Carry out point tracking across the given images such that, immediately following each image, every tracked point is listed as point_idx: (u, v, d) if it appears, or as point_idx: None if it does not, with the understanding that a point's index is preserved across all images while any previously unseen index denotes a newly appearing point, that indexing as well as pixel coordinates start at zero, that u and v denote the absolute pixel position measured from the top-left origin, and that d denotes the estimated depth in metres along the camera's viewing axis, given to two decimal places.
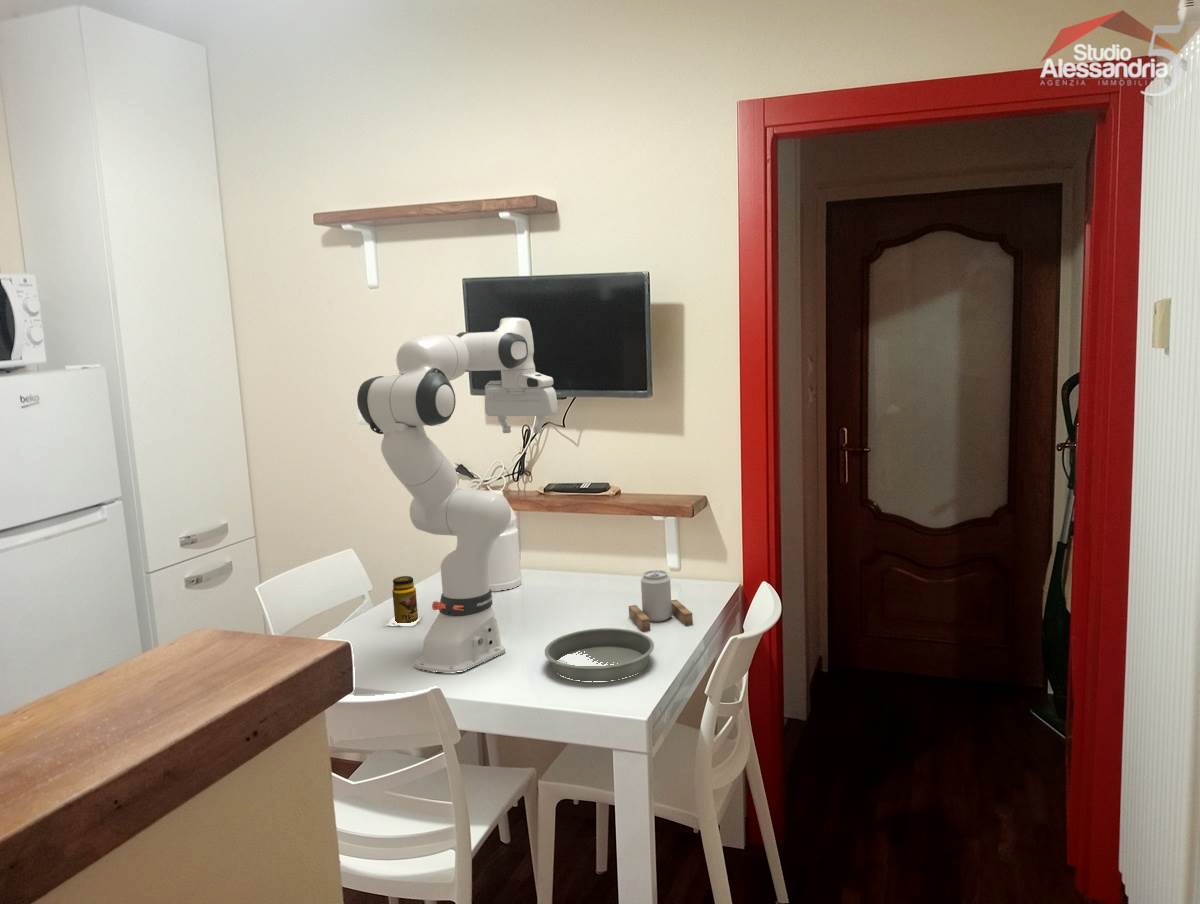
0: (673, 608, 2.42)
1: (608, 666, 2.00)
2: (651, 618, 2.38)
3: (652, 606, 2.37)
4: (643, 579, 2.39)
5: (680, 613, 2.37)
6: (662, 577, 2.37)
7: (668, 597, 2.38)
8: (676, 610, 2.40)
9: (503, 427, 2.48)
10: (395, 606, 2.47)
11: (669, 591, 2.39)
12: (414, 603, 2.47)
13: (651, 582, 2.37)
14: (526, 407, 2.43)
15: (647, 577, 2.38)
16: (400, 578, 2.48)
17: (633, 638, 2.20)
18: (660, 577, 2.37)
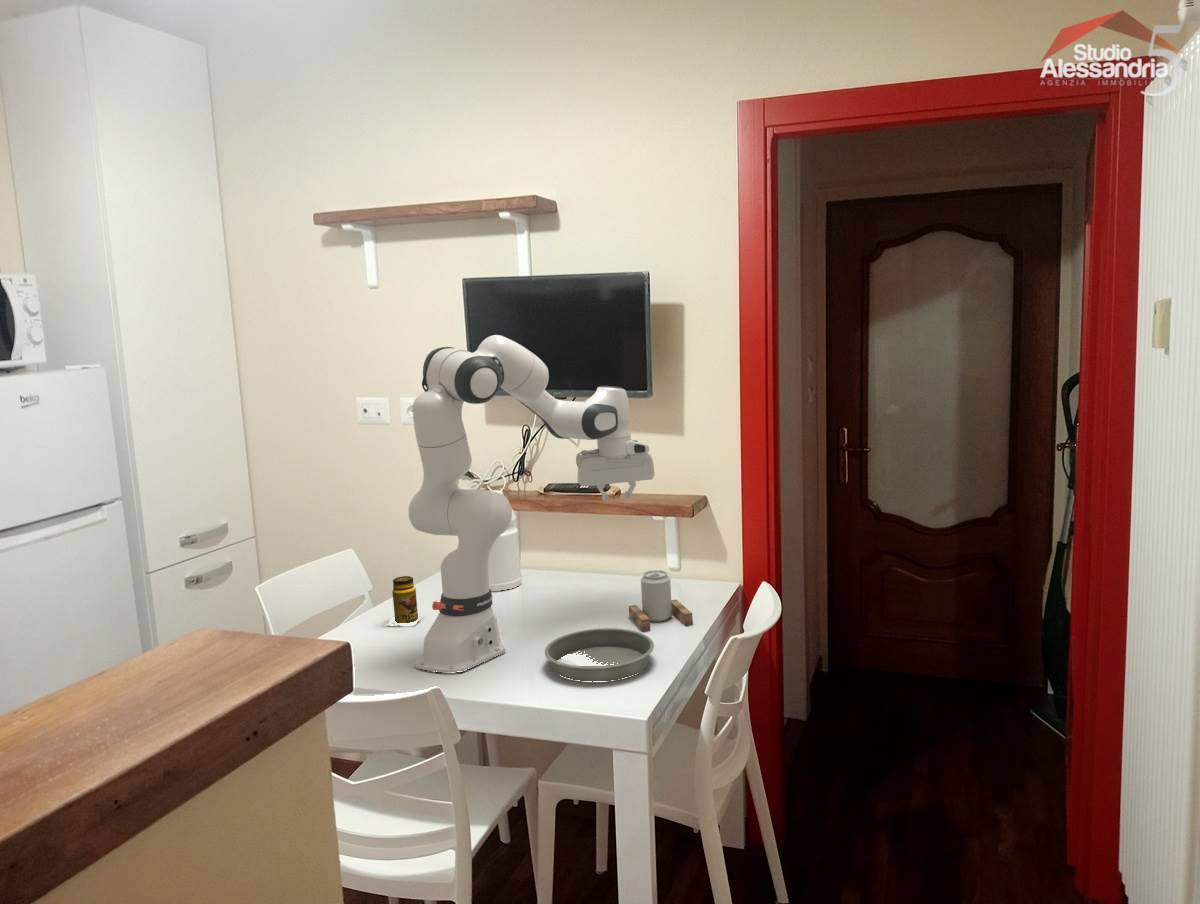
0: (673, 608, 2.42)
1: (608, 666, 2.00)
2: (651, 618, 2.38)
3: (652, 606, 2.37)
4: (643, 579, 2.39)
5: (680, 613, 2.37)
6: (662, 577, 2.37)
7: (668, 597, 2.38)
8: (676, 610, 2.40)
9: (604, 495, 2.46)
10: (395, 606, 2.47)
11: (669, 591, 2.39)
12: (414, 603, 2.47)
13: (651, 582, 2.37)
14: (627, 473, 2.46)
15: (647, 577, 2.38)
16: (400, 578, 2.48)
17: (633, 638, 2.20)
18: (660, 577, 2.37)
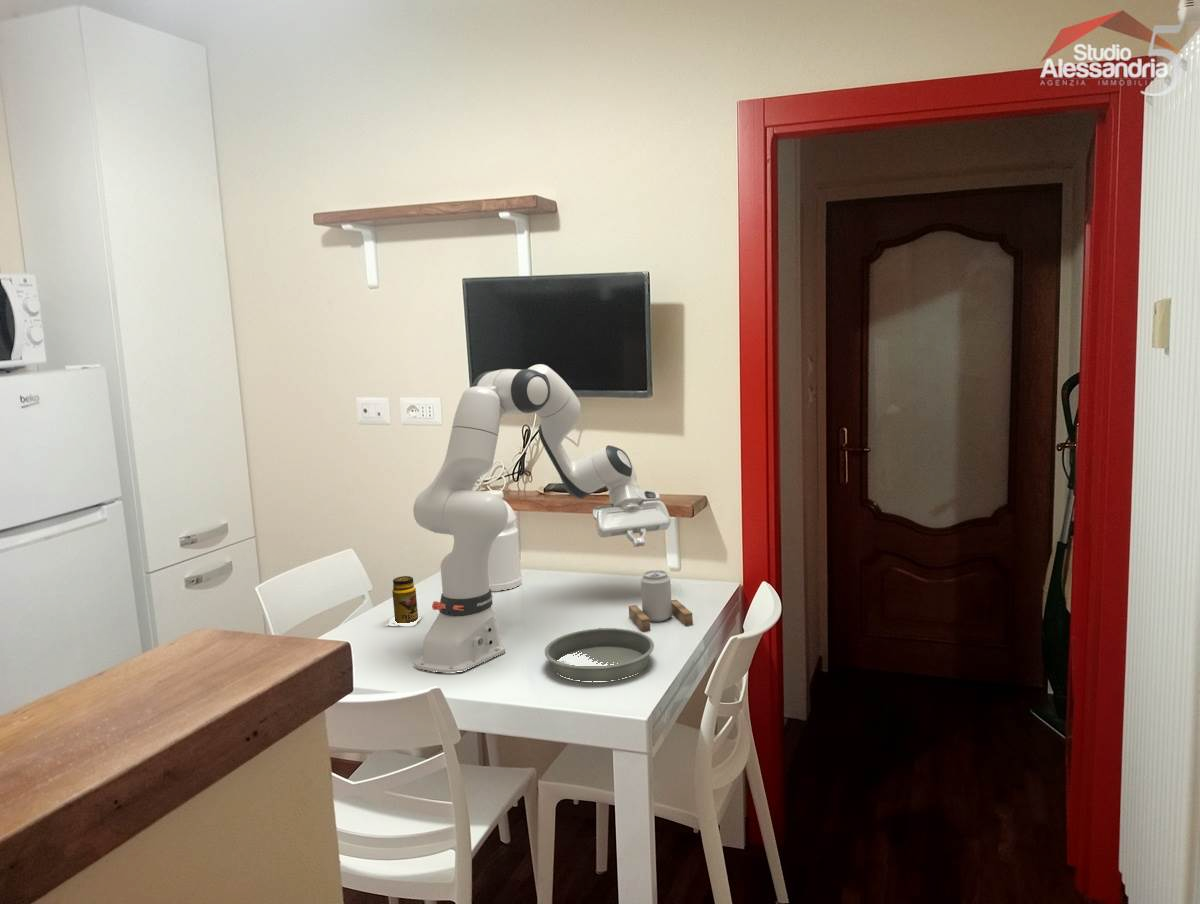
0: (673, 608, 2.42)
1: (608, 666, 2.00)
2: (651, 618, 2.38)
3: (652, 606, 2.37)
4: (643, 579, 2.39)
5: (680, 613, 2.37)
6: (662, 577, 2.37)
7: (668, 597, 2.38)
8: (676, 610, 2.40)
9: (634, 539, 2.52)
10: (395, 606, 2.47)
11: (669, 591, 2.39)
12: (414, 603, 2.47)
13: (651, 582, 2.37)
14: (644, 518, 2.55)
15: (647, 577, 2.38)
16: (400, 578, 2.48)
17: (633, 638, 2.20)
18: (660, 577, 2.37)
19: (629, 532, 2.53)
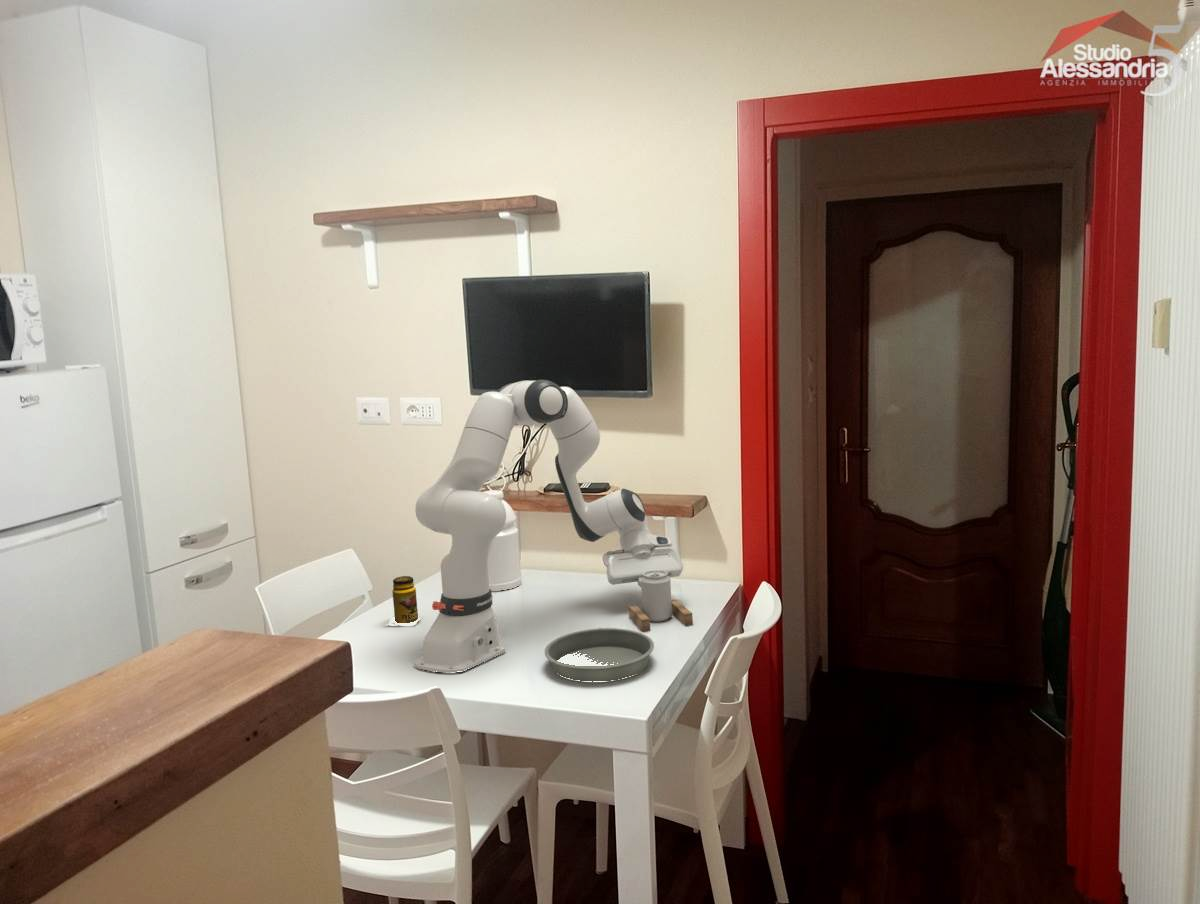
0: (673, 608, 2.42)
1: (608, 666, 2.00)
2: (651, 618, 2.38)
3: (652, 606, 2.37)
4: (643, 579, 2.39)
5: (680, 613, 2.37)
6: (662, 577, 2.37)
7: (668, 597, 2.38)
8: (676, 610, 2.40)
9: None
10: (395, 606, 2.47)
11: (669, 591, 2.39)
12: (414, 603, 2.47)
13: (651, 582, 2.37)
14: (656, 565, 2.48)
15: (647, 577, 2.38)
16: (400, 578, 2.48)
17: (633, 638, 2.20)
18: (660, 577, 2.37)
19: (640, 579, 2.46)
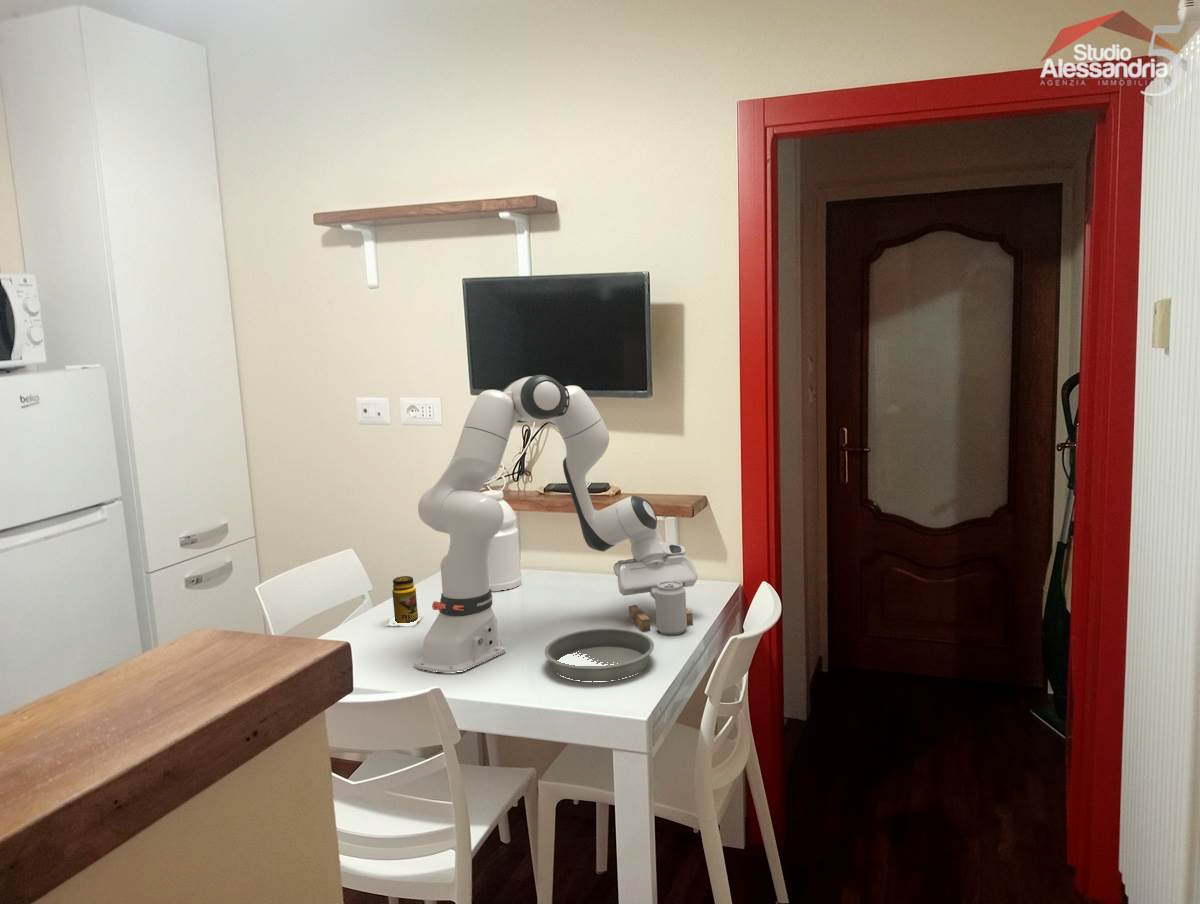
0: None
1: (608, 666, 2.00)
2: (666, 631, 2.28)
3: (667, 618, 2.27)
4: (657, 590, 2.29)
5: None
6: (677, 588, 2.27)
7: (683, 609, 2.28)
8: None
9: None
10: (395, 606, 2.47)
11: (684, 603, 2.29)
12: (414, 603, 2.47)
13: (666, 593, 2.27)
14: (669, 574, 2.38)
15: (661, 589, 2.28)
16: (400, 578, 2.48)
17: (633, 638, 2.20)
18: (675, 588, 2.27)
19: (653, 590, 2.36)
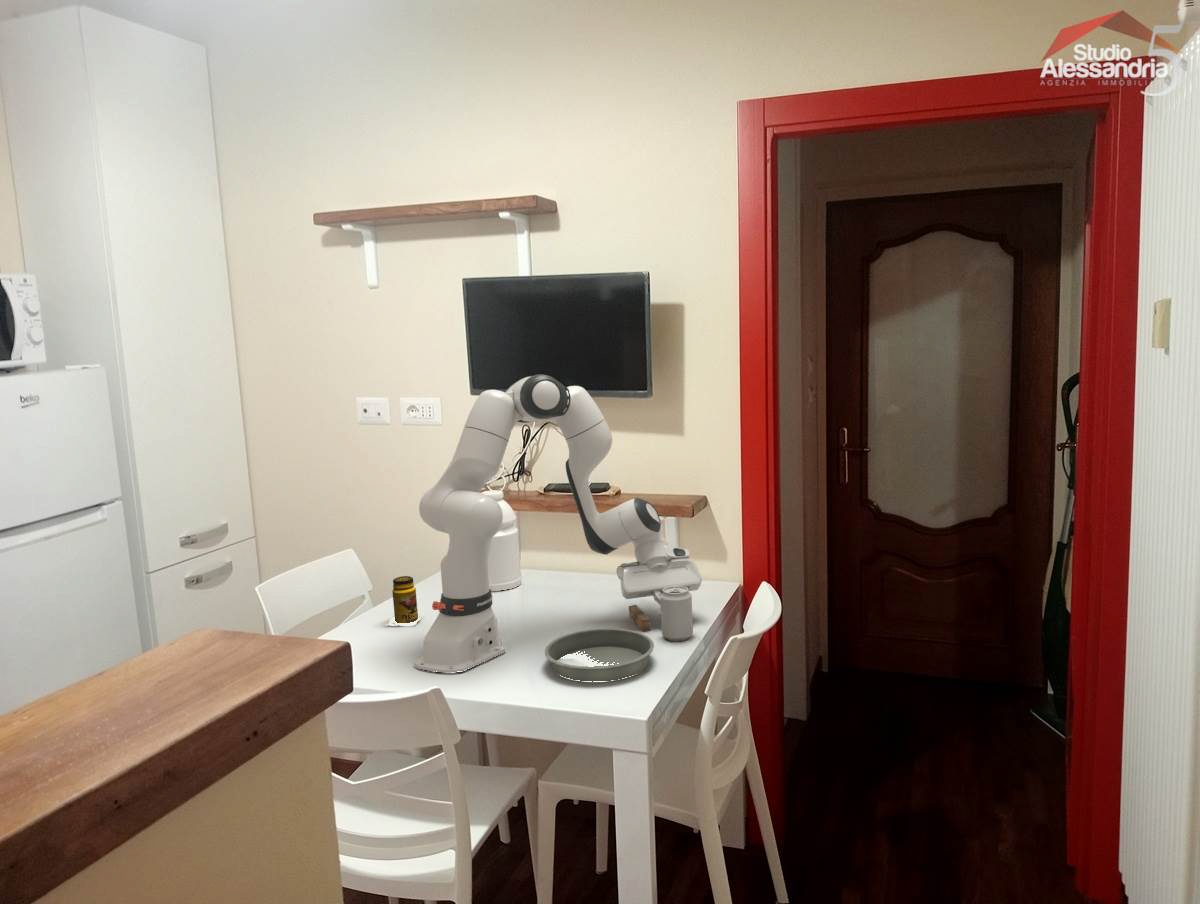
0: None
1: (608, 666, 2.00)
2: (672, 637, 2.24)
3: (673, 624, 2.23)
4: (663, 596, 2.24)
5: None
6: (683, 593, 2.23)
7: (689, 615, 2.24)
8: None
9: None
10: (395, 606, 2.47)
11: (690, 608, 2.24)
12: (414, 603, 2.47)
13: (672, 599, 2.22)
14: (673, 578, 2.35)
15: (667, 594, 2.23)
16: (400, 578, 2.48)
17: (633, 638, 2.20)
18: (681, 593, 2.23)
19: (657, 594, 2.32)
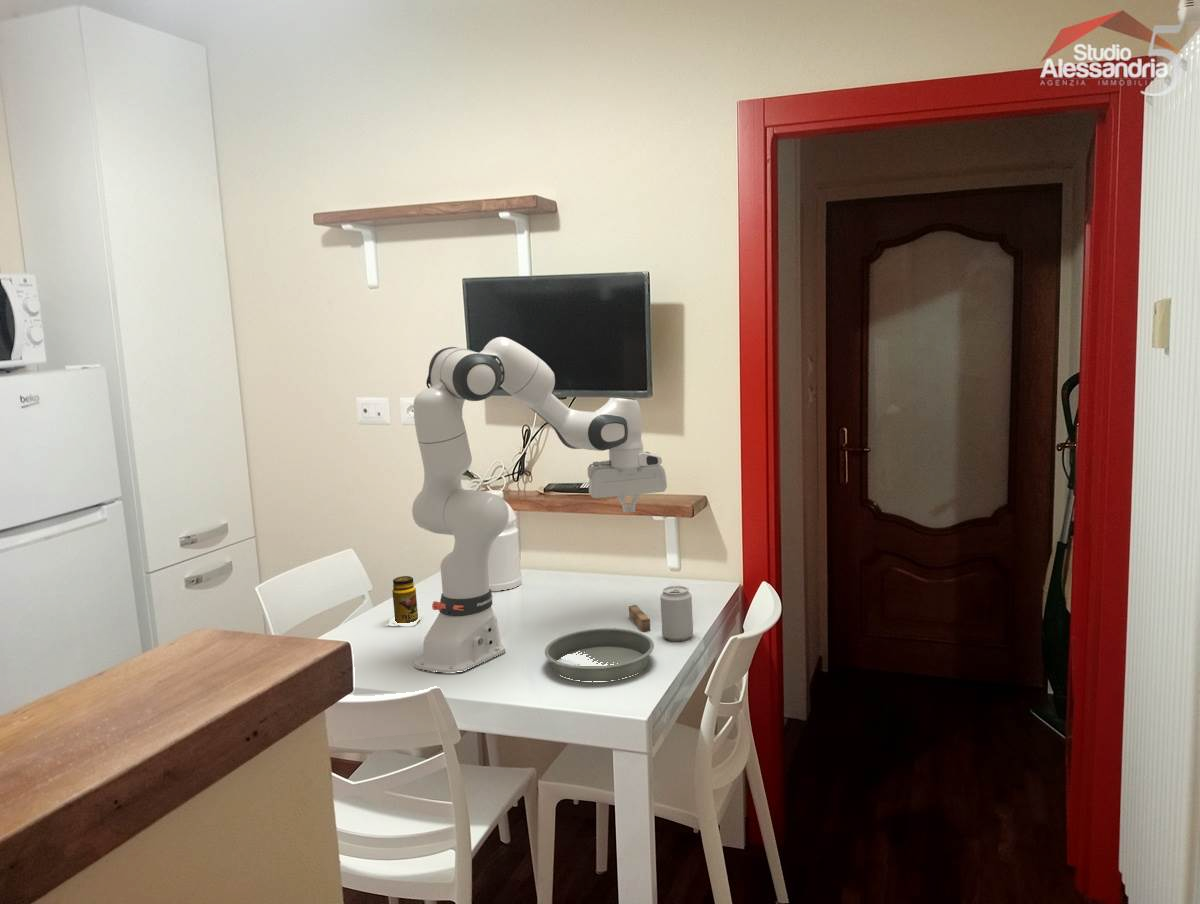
0: None
1: (608, 666, 2.00)
2: (672, 637, 2.24)
3: (673, 624, 2.23)
4: (663, 596, 2.24)
5: None
6: (683, 593, 2.23)
7: (689, 615, 2.24)
8: None
9: (625, 506, 2.43)
10: (395, 606, 2.47)
11: (690, 608, 2.24)
12: (414, 603, 2.47)
13: (672, 599, 2.22)
14: (640, 485, 2.43)
15: (667, 594, 2.23)
16: (400, 578, 2.48)
17: (633, 638, 2.20)
18: (681, 593, 2.23)
19: (621, 499, 2.43)
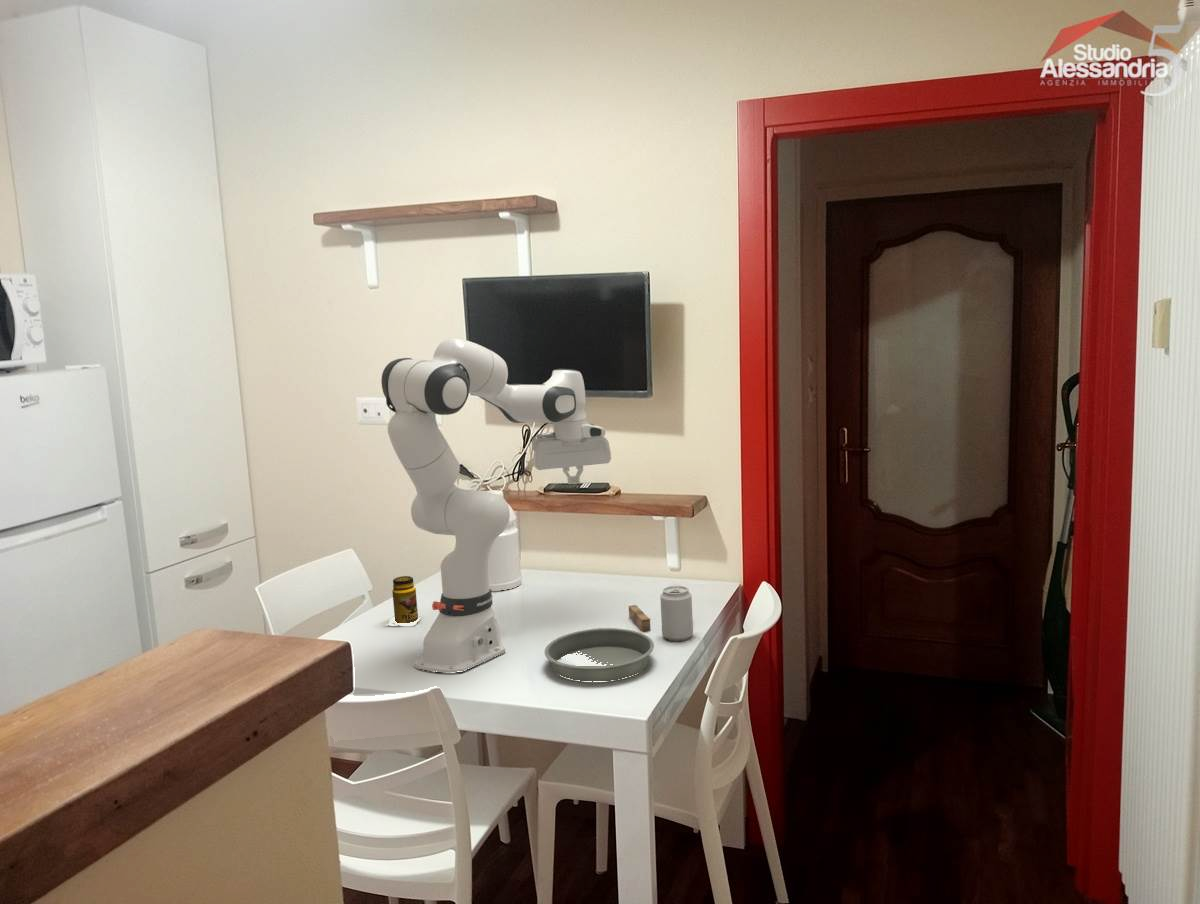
0: None
1: (608, 666, 2.00)
2: (672, 637, 2.24)
3: (673, 624, 2.23)
4: (663, 596, 2.24)
5: None
6: (683, 593, 2.23)
7: (689, 615, 2.24)
8: None
9: (570, 478, 2.46)
10: (395, 606, 2.47)
11: (690, 608, 2.24)
12: (414, 603, 2.47)
13: (672, 599, 2.22)
14: (584, 456, 2.45)
15: (667, 594, 2.23)
16: (400, 578, 2.48)
17: (633, 638, 2.20)
18: (681, 593, 2.23)
19: (566, 470, 2.45)
